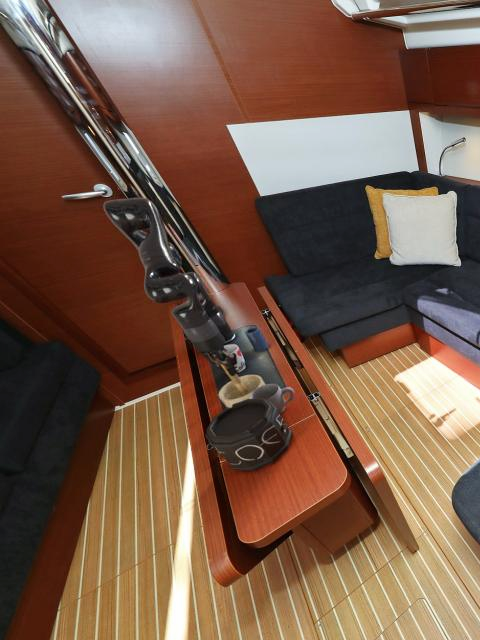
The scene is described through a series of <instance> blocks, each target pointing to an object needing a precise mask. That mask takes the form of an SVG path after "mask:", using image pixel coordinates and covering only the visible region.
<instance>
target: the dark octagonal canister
mask: <svg viewBox="0 0 480 640" xmlns="http://www.w3.org/2000/svg"><path fill="white" fill-rule="evenodd" d="M277 411H278V409H277V408H276V407H275V406H274V405H273V404H272V403H271V402H270V401H267V400H264V399H247V400H244V401H241V402H238V403H235V404H232V407H225V408H224V409H223V410H221V411H219V413H217V414H215V416H213V417H212V419H211V421H210V423H209V425H208V427H207V428H206V430H205V431H206V433H205V438H206V439H207V441H208V442H209V444H210V445H211V447H212V448H216V450H217V451H218V453H219V455H220V456H221V457H222V458H223V459H224V460H225V461H226V462H227V463H228V464H229V466H230V467H231V469H232V470H235V471H258V470H260V469H263V468H264V467H267V466H269V465H271V464H274V463H275V462H276V461H278V460H279V458H281V456H283V455H284V454H285V453H286V452H287V451H288V449H289V446H290V443H291V439H292V435H293V431H292V430H291V429H290V428H289V426H288V424H287V423H286V421H285V420H284V418H283V417H282V416H281V414H278V412H277Z"/></svg>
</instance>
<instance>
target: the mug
mask: <svg viewBox="0 0 480 640" xmlns="http://www.w3.org/2000/svg"><path fill="white" fill-rule="evenodd" d="M265 384H266V385H263V386H260V387H258V388H257V389H255V390H254V391H253V392H252V393H251V395H250V399H264V400H267V401H270V402H271V403H272V404H273V405H274V406H275V407H276V408H277V409H278V411H277V412H278V414H279V415H281V414H282V413H283V412H284V411H285V408H286V407H285V405H286V404H288V403H290V402H291V401H293V399H294V397H295V391H294V389H293V388H292V387H290V386H289V387H288V386H287V387H284V388H281V387H280V386H279V385H278V384H277V383H265ZM288 392H289V397H288V398H287V399H285V396H284V394H286V393H288Z"/></svg>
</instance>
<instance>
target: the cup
mask: <svg viewBox="0 0 480 640" xmlns="http://www.w3.org/2000/svg"><path fill="white" fill-rule="evenodd" d="M224 347H225V348H226V349H227V351H228V353H230V354H232V353H235V354H236V356H237V364H236V365H235V366H234V367H235V368H236V370H237V371H238V373H240V372H243V371H244V370H245V369H246V361H245V359H244V356H243V354H242V351H241V349H240V348H239V346H238V345H237V344H235V343H233V344H232V343H231V344H225V345H224Z"/></svg>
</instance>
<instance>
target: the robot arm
mask: <svg viewBox="0 0 480 640" xmlns="http://www.w3.org/2000/svg"><path fill="white" fill-rule="evenodd" d="M103 210H104V213H105V214H106V216H107V218H108V219H109V220H110V221H111V222H112V224H113V225H114V226H115V228H117V229H118V230H119V231H120V232H121V234H122V235H123V236H125V238H126V239H127V240H128V241H130V242H131V244H132V245H133V246H134V247H135V249H136V250H137V252H138V256H139V259H140V261H141V263H142V266H143V268H144V281H143V288H144V289H143V290H144V293H145V294H146V296H147V297H148V298H149V299H150V300H151V301H153V302H155V303H158V304H167V303H172V302H175V301H179V300H183V299H186V300H185V301H184V302H183V303H181V304H178V305H177V306H175V307H174V308H172V309H171V314H172V316H173V318H174V319H175V321H176V322H177V324H178V325H179V326H180V327H181V329H182V331H183V333H184V334H185V336H186V337H187V339H188V340H189V341H190V343H191V344H192V345H193V347H194V348H195V349H196V351H197V352H198V353H199V354H200V355H201V356H202V357H203V358H205V359H206V360H207V361H208V362H209V363H210V364H211V365H212V366H216V367H217V368H219V369H220V370H221V372H222V373H223V374H224V375H226V376H228V375H227V373H226V372H225V370H224V369H223V368H222V366H221V365H220V364H222V365H223V366H224V367H225V368H226V370H227V371H228V373H229V374H230V375H231V376H235V375H236V374H237V375H238V373H239V372H238V371H237V370H236V368H235V367H234V366H235V365H236V364H237V356H236V354H235V353H232V354H230V353H228V351H227V349H226V348H225V347H224V346H225V345H227V344H229V343H230V342H232V341H234V340H235V338H236V333H235V332H234V331H233V329H232V328H231V327H230V325H229V323H228V322H227V320H226V318H225V314H226V313H225V311H224V309H223V308H222V307H220V306H218V305H217V304H216V303H215V301H214V299H213V298H212V297H211V295H210V293H209V291H208V290H207V288H206V286H205V283H204V282H203V281H202V279H201V277H200V276H199V275H198V274H197V273H196V272H194V271H188V272H183V273H182V272H180V269H181V267H182V265H183V259H182V256H181V254H180V253H179V252H178V249H177V248H176V247H175V246H174V245H173V243H171V242H169V238H168V233H167V230H166V226H165V222H164V219H163V217H162V215H161V212H160V211H159V210H158V208H157V206H156V205H155V204H154V203H153V202H152V200H150V199H149V198H147V197H130V198H120V199H119V198H118V199H111V200H106V201H104V203H103ZM147 230H148V231H147ZM146 231H147V232H146ZM226 362H227V364H226Z"/></svg>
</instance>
